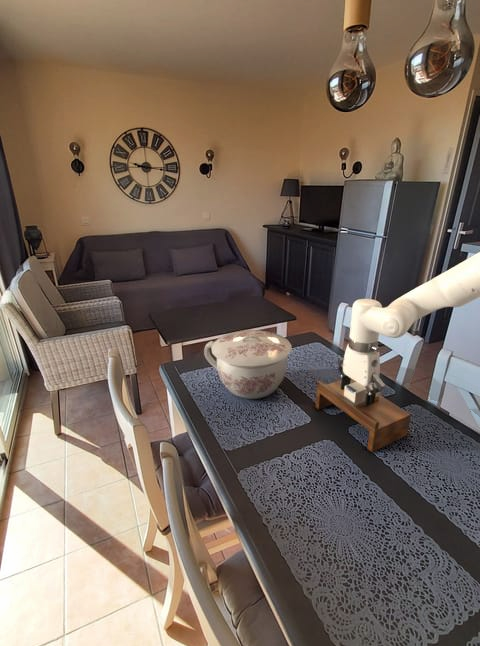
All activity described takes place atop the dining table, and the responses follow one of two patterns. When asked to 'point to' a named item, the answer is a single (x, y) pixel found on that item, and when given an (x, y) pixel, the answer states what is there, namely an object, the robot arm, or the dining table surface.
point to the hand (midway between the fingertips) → (356, 396)
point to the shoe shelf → (367, 414)
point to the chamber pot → (250, 361)
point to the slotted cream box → (357, 393)
